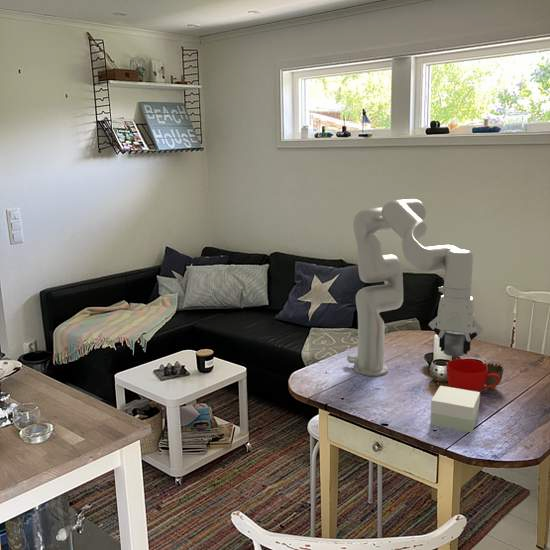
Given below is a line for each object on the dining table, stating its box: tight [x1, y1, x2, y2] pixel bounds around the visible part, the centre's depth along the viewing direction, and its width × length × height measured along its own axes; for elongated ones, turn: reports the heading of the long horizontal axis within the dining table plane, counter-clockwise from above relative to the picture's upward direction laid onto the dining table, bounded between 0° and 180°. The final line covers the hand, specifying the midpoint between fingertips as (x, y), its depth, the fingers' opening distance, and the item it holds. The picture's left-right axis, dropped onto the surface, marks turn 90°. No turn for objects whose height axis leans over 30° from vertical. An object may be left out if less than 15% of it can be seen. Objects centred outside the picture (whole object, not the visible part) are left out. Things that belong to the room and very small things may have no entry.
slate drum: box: [443, 331, 466, 358], centre depth 176 cm, size 6×6×6 cm
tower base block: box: [429, 406, 480, 433], centre depth 181 cm, size 12×12×4 cm
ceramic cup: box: [446, 358, 501, 393], centre depth 197 cm, size 13×17×10 cm
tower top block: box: [430, 385, 481, 421], centre depth 180 cm, size 12×12×4 cm
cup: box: [484, 362, 505, 391], centre depth 202 cm, size 8×7×8 cm
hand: (454, 350), depth 177 cm, fingers closed on slate drum, 6 cm apart
